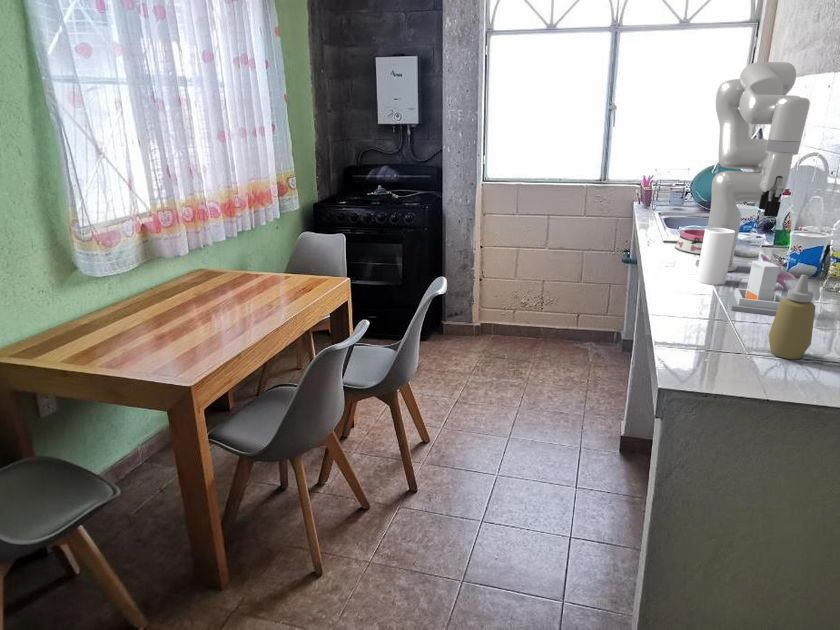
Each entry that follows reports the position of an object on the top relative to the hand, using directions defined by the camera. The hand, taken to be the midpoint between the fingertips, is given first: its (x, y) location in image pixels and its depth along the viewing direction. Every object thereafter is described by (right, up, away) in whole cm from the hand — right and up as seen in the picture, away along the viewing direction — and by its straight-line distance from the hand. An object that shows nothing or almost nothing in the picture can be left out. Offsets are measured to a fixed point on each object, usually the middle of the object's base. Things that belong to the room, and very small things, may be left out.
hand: (767, 212), depth 164 cm
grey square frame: (-2, -25, +1) cm, 25 cm away
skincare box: (-3, -26, +1) cm, 26 cm away
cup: (-4, -17, +24) cm, 30 cm away
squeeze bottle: (-14, -37, -31) cm, 50 cm away
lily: (+11, -20, +18) cm, 29 cm away
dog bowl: (+12, -4, +64) cm, 66 cm away
